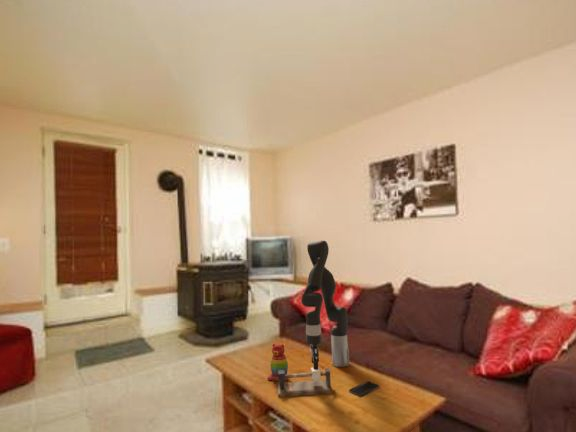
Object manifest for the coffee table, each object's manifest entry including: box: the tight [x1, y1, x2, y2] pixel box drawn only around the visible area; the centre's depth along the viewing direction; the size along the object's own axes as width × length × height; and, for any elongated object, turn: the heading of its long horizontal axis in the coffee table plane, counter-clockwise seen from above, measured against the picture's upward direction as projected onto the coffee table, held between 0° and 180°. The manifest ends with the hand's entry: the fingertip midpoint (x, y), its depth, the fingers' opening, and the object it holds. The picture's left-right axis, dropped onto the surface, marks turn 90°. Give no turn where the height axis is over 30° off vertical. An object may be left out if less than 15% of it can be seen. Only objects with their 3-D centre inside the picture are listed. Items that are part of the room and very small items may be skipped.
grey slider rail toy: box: [277, 367, 333, 398], centre depth 173 cm, size 26×12×9 cm, turn 93°
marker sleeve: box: [310, 366, 322, 382], centre depth 173 cm, size 4×5×5 cm
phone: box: [348, 381, 380, 398], centre depth 170 cm, size 8×1×15 cm
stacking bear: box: [266, 343, 289, 382], centre depth 188 cm, size 11×10×18 cm
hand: (315, 366), depth 173 cm, fingers open, 8 cm apart
